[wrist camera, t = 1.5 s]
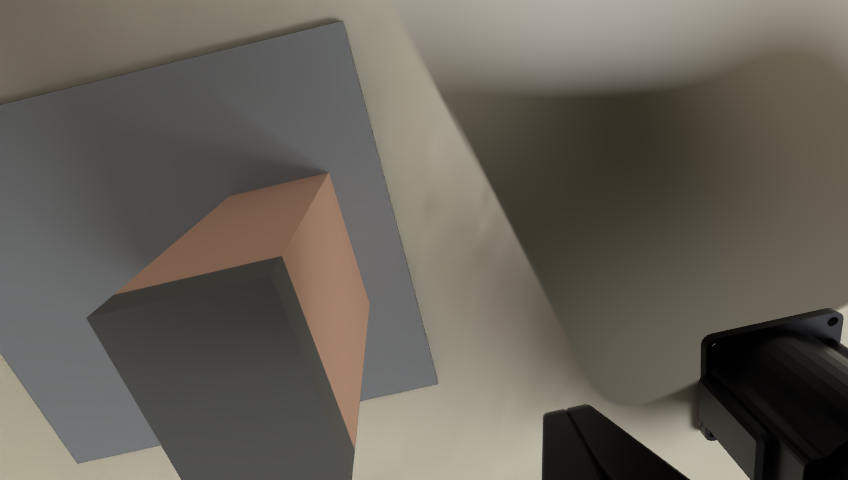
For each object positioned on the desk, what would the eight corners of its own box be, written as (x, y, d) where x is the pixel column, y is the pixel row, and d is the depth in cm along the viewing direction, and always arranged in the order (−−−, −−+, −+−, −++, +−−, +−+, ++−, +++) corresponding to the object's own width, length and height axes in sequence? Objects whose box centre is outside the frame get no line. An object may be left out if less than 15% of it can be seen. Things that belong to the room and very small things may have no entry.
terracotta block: (329, 172, 18) (270, 275, 10) (369, 303, 20) (351, 480, 12) (229, 196, 18) (85, 318, 10) (281, 324, 20) (200, 512, 12)
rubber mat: (343, 21, 16) (342, 20, 16) (437, 378, 22) (438, 384, 22) (-136, 139, 17) (-148, 141, 16) (82, 457, 23) (77, 463, 22)
